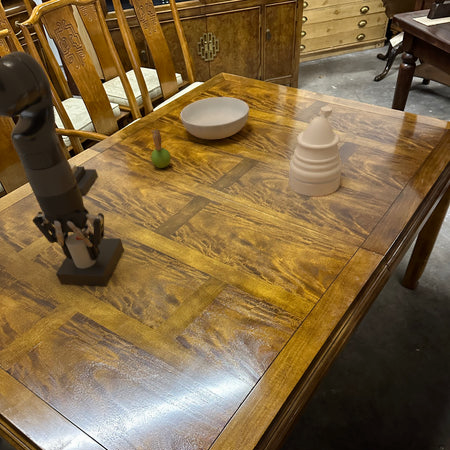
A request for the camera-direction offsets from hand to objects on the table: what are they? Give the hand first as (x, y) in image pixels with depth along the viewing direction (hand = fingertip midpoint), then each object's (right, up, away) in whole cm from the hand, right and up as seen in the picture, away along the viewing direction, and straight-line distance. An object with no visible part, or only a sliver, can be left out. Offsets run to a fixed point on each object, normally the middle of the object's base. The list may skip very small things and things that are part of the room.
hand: (84, 256), depth 86 cm
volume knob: (0, -1, +1) cm, 1 cm away
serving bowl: (+26, +44, +45) cm, 68 cm away
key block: (-13, +23, +29) cm, 39 cm away
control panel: (+1, -2, +4) cm, 5 cm away
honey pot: (+52, +21, +21) cm, 60 cm away
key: (-13, +25, +26) cm, 38 cm away
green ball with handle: (+11, +28, +32) cm, 45 cm away
